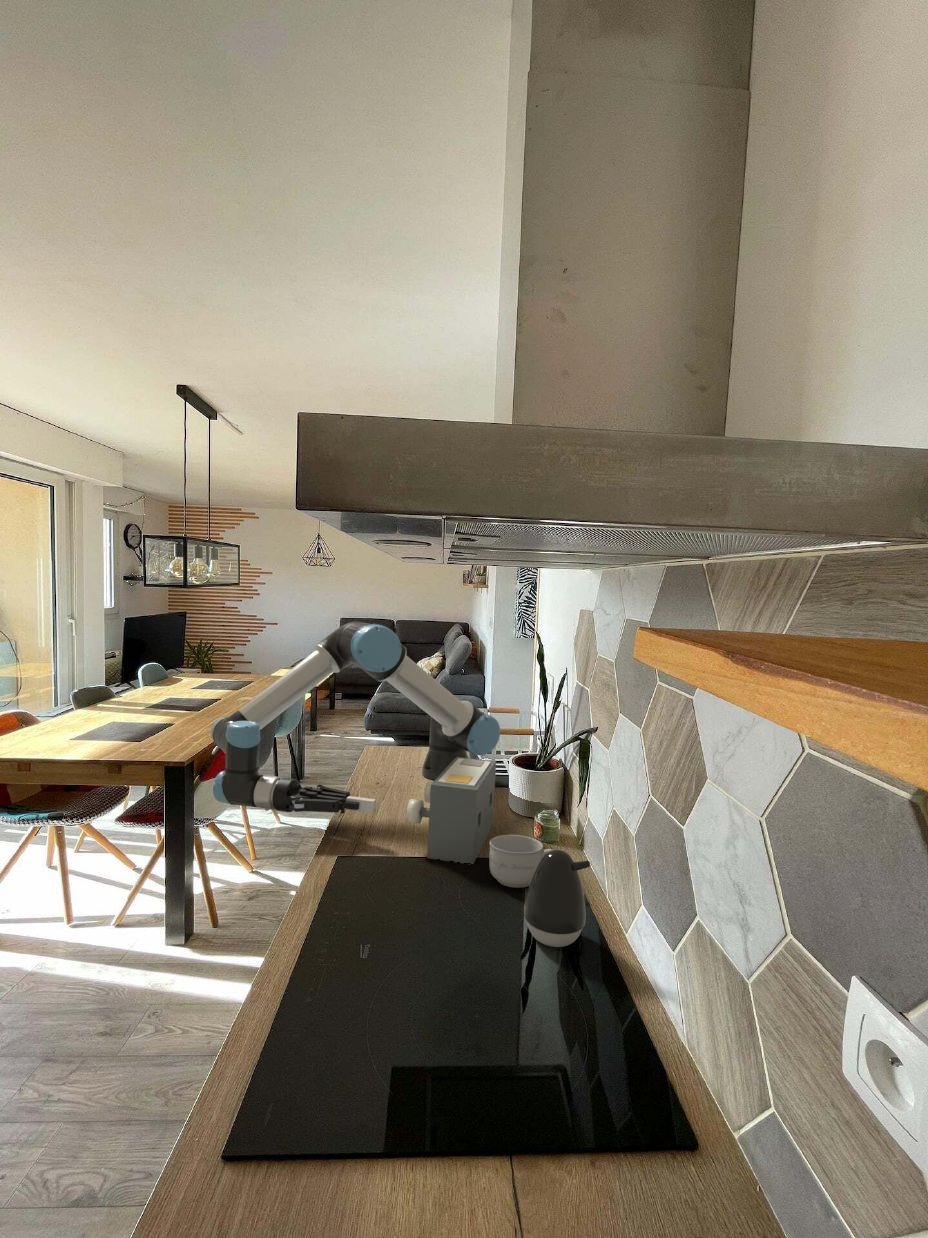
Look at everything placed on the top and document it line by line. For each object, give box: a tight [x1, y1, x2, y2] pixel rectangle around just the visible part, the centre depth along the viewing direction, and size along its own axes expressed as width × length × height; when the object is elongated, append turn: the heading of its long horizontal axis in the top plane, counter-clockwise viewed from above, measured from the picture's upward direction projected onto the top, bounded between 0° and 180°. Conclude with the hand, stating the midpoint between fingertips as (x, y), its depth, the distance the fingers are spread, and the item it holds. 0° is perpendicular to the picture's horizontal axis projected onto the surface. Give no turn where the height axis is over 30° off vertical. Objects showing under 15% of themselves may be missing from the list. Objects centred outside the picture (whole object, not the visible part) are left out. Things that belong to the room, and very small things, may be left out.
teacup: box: [488, 834, 554, 889], centre depth 130 cm, size 14×11×8 cm
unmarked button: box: [423, 780, 434, 804], centre depth 158 cm, size 5×8×5 cm, turn 77°
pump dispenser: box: [524, 848, 591, 948], centre depth 110 cm, size 10×10×15 cm
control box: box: [426, 757, 497, 865], centre depth 150 cm, size 24×10×16 cm, turn 167°
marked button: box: [406, 798, 430, 824], centre depth 144 cm, size 5×8×5 cm, turn 77°
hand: (374, 806), depth 147 cm, fingers closed
